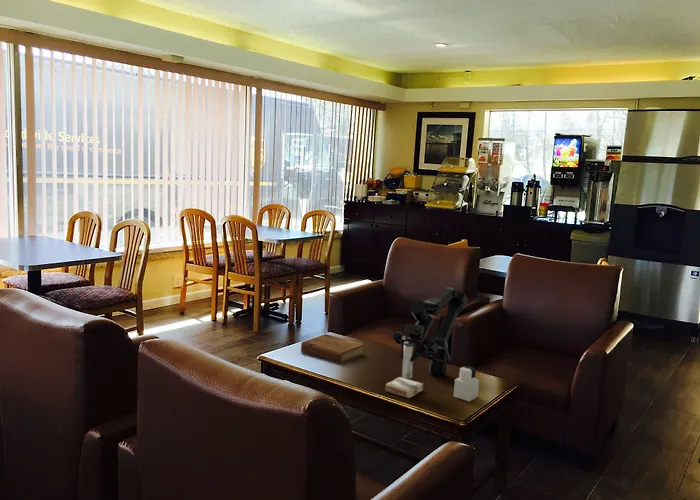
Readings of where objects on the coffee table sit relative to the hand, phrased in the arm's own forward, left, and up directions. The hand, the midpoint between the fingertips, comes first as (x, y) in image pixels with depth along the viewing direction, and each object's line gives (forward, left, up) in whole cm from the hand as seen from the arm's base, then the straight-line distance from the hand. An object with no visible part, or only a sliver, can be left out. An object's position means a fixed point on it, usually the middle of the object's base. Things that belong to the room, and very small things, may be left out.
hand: (406, 360), depth 226 cm
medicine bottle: (-24, +6, -14) cm, 28 cm away
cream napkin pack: (-1, -2, -13) cm, 13 cm away
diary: (+21, -48, -14) cm, 55 cm away
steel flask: (-1, -1, -7) cm, 7 cm away
